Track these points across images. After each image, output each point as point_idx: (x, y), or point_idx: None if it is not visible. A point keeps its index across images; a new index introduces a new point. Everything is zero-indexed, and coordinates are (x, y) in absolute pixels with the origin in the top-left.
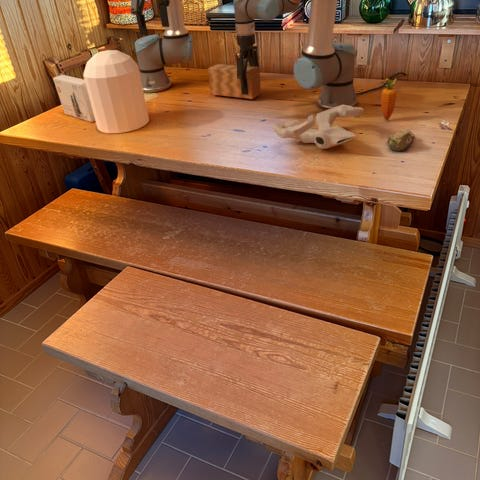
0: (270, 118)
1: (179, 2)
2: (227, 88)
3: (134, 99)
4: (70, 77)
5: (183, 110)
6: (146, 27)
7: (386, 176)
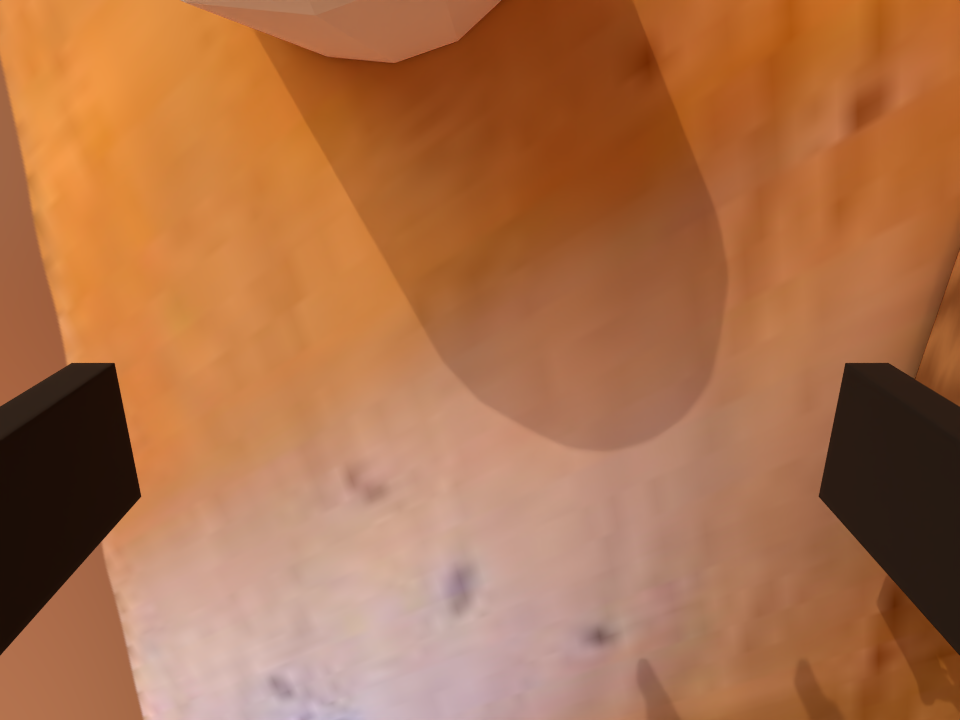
0: (631, 652)
1: None
2: (954, 372)
3: (289, 38)
4: None
5: (684, 165)
6: (64, 577)
7: None
